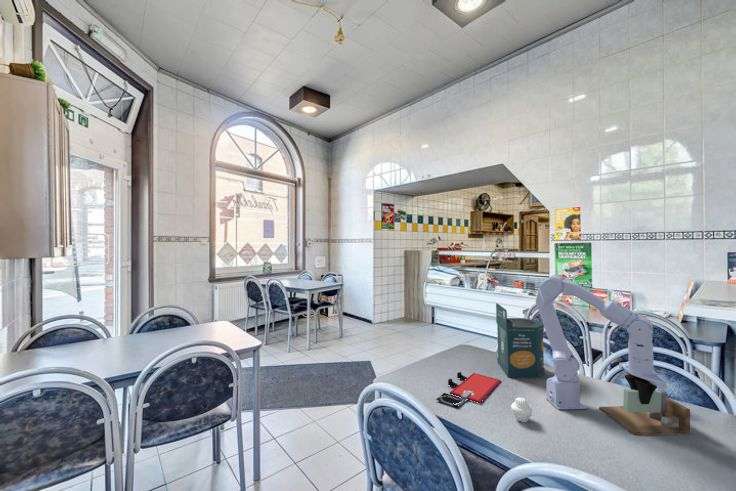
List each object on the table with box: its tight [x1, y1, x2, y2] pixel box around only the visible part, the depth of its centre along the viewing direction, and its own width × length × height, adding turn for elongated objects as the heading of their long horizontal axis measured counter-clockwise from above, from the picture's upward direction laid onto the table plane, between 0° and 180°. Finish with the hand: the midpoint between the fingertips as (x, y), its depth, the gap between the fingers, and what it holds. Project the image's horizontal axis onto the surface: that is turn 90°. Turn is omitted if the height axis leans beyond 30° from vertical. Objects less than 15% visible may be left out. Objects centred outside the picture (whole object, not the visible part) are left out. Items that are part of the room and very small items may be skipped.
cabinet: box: [598, 397, 691, 436], centre depth 98 cm, size 16×14×7 cm
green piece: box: [622, 388, 668, 413], centre depth 96 cm, size 12×2×6 cm, turn 89°
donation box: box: [495, 303, 546, 379], centre depth 138 cm, size 16×16×28 cm
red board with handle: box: [435, 371, 502, 407], centre depth 121 cm, size 30×3×15 cm
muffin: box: [510, 397, 533, 423], centre depth 100 cm, size 6×6×7 cm
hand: (641, 401), depth 96 cm, fingers closed on green piece, 2 cm apart
